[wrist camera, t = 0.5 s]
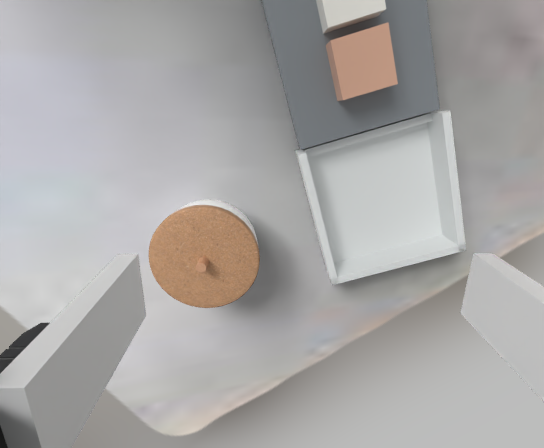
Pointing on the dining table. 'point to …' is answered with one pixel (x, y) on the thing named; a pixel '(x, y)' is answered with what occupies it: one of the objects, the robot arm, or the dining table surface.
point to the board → (318, 78)
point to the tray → (385, 196)
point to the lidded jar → (205, 254)
